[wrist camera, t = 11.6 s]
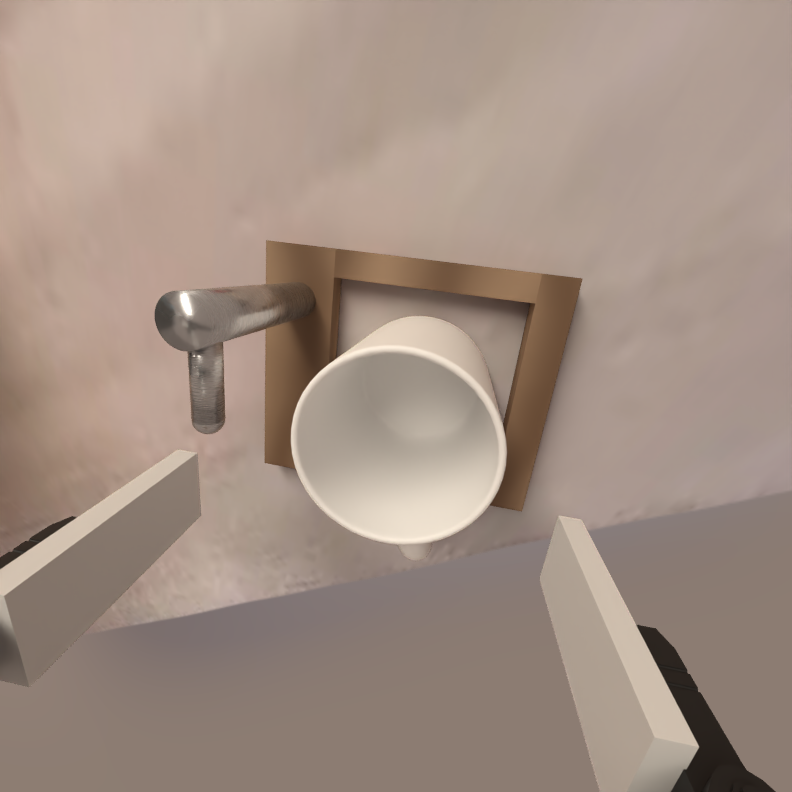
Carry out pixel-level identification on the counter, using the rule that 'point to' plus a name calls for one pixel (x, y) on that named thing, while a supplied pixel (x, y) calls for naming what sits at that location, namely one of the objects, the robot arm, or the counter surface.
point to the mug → (402, 435)
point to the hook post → (222, 333)
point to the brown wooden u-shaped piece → (325, 267)
